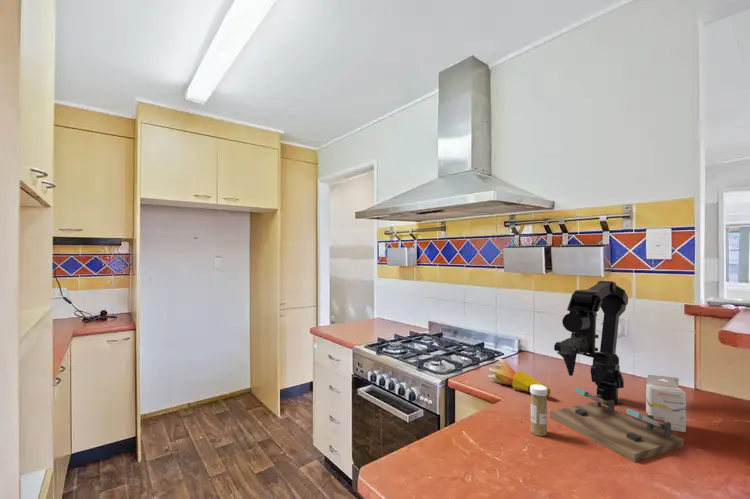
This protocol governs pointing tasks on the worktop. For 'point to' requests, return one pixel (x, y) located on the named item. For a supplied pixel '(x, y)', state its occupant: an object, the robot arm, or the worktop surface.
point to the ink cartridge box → (666, 401)
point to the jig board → (618, 430)
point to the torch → (513, 377)
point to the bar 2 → (645, 418)
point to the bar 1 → (591, 396)
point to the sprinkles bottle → (538, 410)
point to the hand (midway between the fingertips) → (583, 380)
